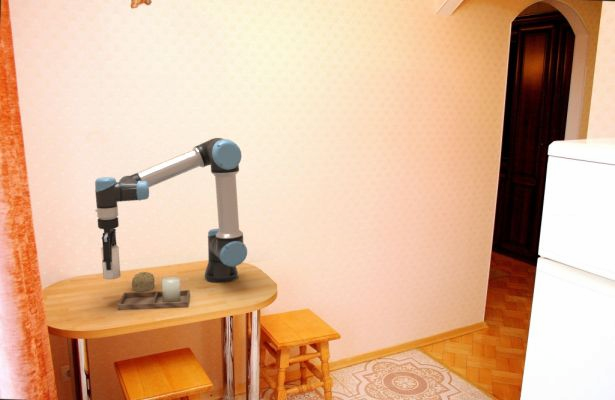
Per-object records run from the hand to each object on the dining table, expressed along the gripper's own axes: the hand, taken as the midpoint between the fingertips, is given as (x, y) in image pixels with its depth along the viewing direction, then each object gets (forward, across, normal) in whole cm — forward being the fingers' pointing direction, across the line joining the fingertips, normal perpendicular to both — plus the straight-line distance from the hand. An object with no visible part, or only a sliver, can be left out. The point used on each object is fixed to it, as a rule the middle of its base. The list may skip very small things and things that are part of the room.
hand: (111, 274), depth 206 cm
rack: (+12, +3, +16) cm, 21 cm away
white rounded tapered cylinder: (+1, 0, 0) cm, 1 cm away
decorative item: (+13, -14, +10) cm, 21 cm away
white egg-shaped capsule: (+11, +3, +23) cm, 26 cm away
